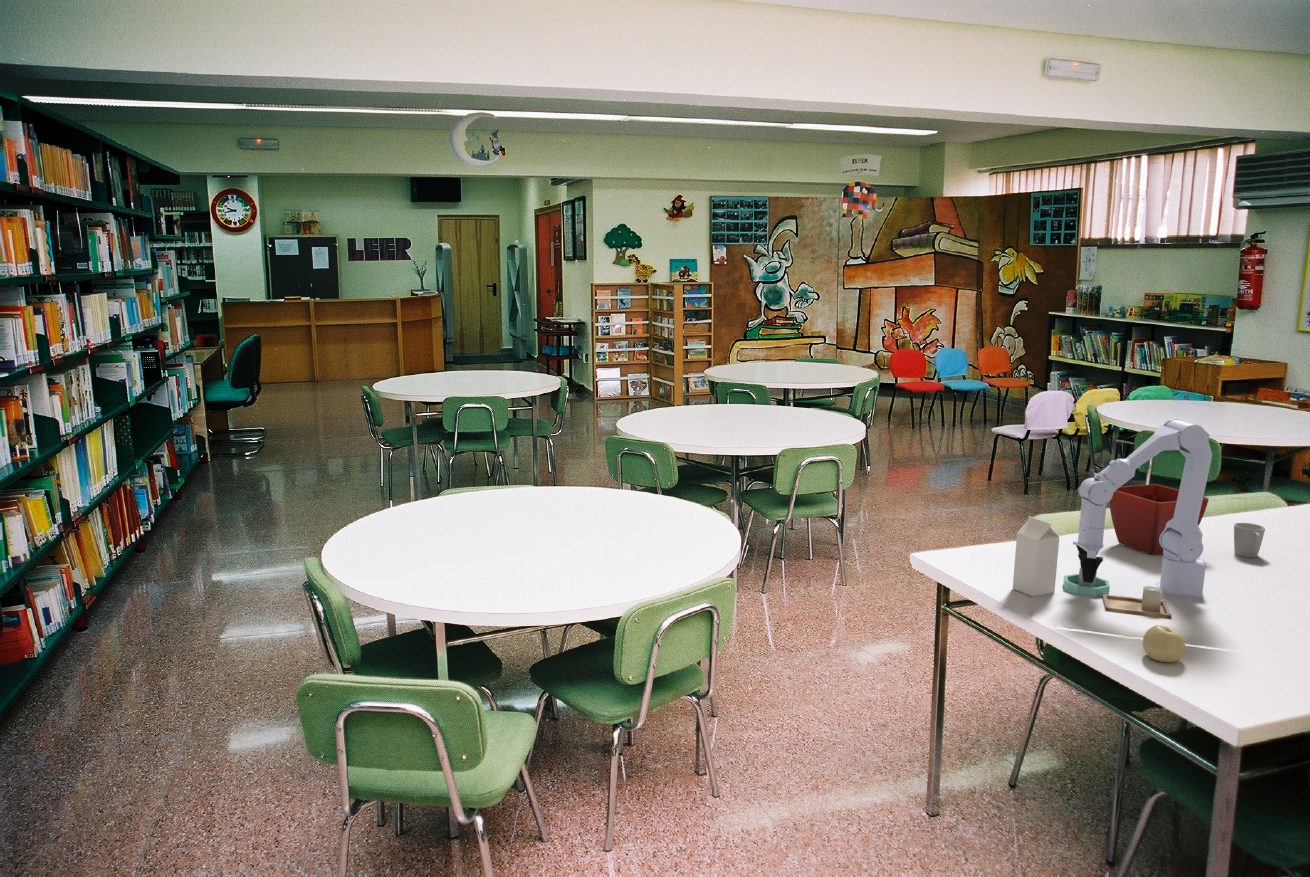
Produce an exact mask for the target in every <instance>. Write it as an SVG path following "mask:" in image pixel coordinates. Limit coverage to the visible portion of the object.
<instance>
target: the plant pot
mask: <svg viewBox="0 0 1310 877" xmlns="http://www.w3.org/2000/svg"><path fill="white" fill-rule="evenodd" d="M1178 493H1179V489H1177V488H1172V487H1168V486H1164V485H1161V484H1157V483H1155V484H1154V483H1153V484H1141V485H1140V484H1139V485H1126V486H1121V487H1120V488H1118V489H1117V490H1116V491H1115V492H1114V493H1113V496H1112V499H1111V500H1110V501H1109V502H1108V503H1109V510H1110V515H1111V522H1112V525H1113V528H1114V532H1115V536H1116V538H1117V539H1116V540H1117V541H1118V544H1119V545H1122V546H1125V547H1128V548H1131V549H1133V550H1135V551H1139V552H1141V553H1144V554H1148V555H1151V556H1158V555H1163V548H1162V547H1161V545H1160V543H1159V538H1160V535H1161V533H1162V532H1163V531H1164V529H1165V527H1166V523H1167V522H1168V521H1170V520H1171V519H1173V517H1174V512H1175V507H1176V503H1177V498H1178ZM1209 500H1210V499H1209V497H1207V496H1203V500H1202V505H1201V510H1200V514H1199V519H1198V526H1199V527H1200V524H1201V522H1202V519H1203V517H1204V514H1205V512H1206V509H1207V506H1208V503H1209Z"/></svg>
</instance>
